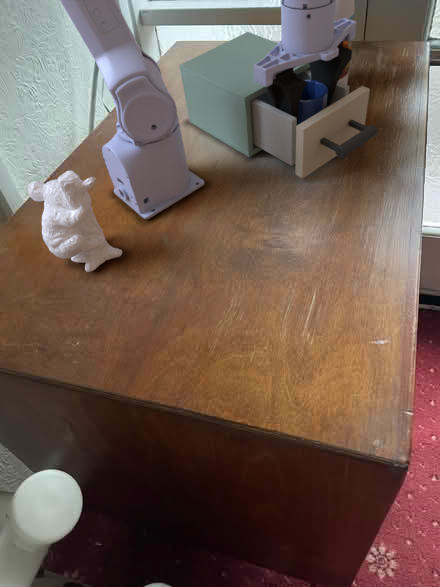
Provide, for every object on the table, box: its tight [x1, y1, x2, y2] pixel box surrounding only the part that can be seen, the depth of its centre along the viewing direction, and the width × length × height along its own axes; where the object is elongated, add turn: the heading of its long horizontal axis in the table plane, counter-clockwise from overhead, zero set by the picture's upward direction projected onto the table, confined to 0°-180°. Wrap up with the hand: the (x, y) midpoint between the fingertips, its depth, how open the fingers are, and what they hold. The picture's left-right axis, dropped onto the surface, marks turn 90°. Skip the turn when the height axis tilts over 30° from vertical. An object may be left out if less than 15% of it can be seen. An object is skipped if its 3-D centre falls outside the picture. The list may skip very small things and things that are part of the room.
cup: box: [297, 80, 328, 125], centre depth 58 cm, size 5×5×5 cm
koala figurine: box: [27, 170, 123, 273], centre depth 49 cm, size 8×7×12 cm
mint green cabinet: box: [178, 31, 311, 158], centre depth 65 cm, size 14×13×9 cm
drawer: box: [250, 69, 379, 179], centre depth 59 cm, size 16×11×7 cm
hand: (304, 117), depth 59 cm, fingers closed on cup, 5 cm apart
